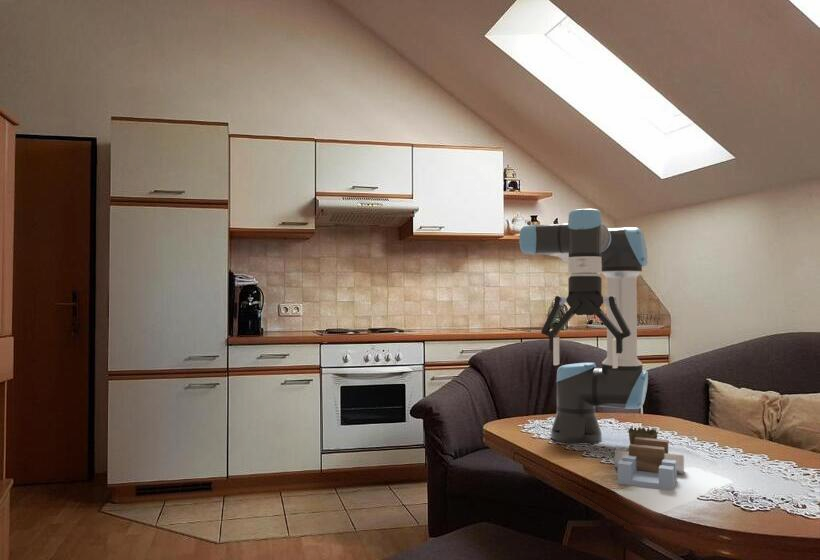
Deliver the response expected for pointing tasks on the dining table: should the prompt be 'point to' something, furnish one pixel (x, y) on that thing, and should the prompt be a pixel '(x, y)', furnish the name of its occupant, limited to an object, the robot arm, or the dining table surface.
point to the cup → (641, 433)
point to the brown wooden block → (648, 453)
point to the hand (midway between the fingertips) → (585, 366)
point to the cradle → (647, 474)
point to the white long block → (678, 458)
